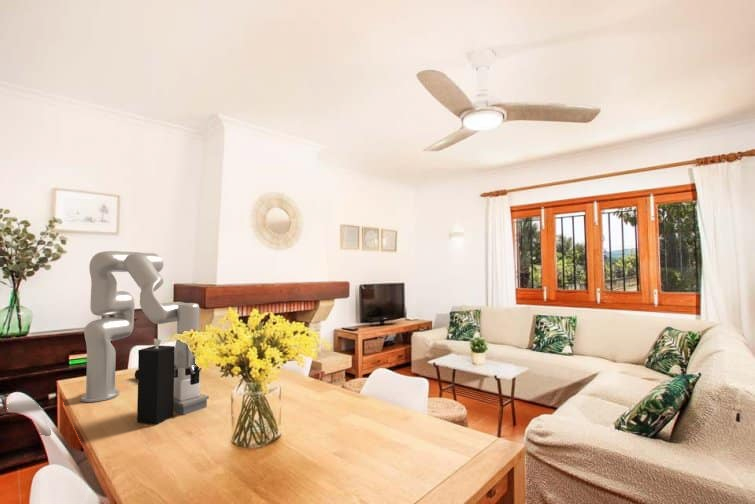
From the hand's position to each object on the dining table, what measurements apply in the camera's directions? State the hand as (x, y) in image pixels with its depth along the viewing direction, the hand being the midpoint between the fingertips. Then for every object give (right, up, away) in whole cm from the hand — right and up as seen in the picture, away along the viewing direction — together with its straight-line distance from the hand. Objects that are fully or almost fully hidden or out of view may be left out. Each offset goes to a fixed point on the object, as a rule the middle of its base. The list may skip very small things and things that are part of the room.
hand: (187, 381), depth 141 cm
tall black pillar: (-5, -10, -11) cm, 16 cm away
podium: (0, -10, 0) cm, 10 cm away
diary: (-28, -12, +36) cm, 47 cm away
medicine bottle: (0, -6, 0) cm, 6 cm away
